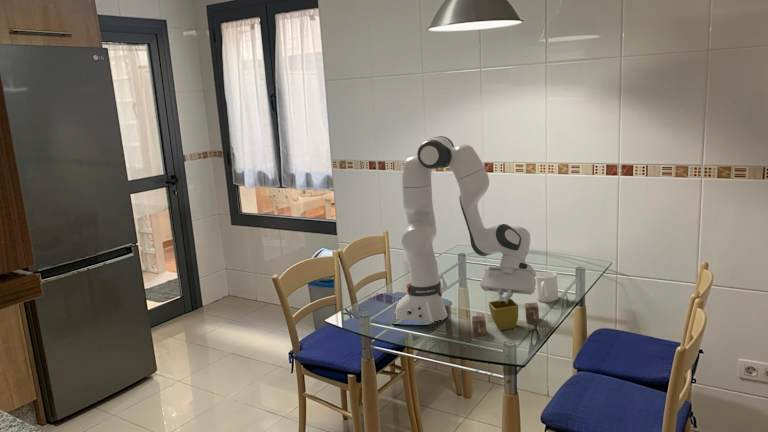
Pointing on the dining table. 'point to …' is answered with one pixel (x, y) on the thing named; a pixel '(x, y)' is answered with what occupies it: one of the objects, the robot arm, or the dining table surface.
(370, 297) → the dining table surface
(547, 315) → the dining table surface
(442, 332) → the dining table surface
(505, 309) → the flower pot
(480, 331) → the numbered block one
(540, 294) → the mug
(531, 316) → the numbered block seven
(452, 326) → the dining table surface
